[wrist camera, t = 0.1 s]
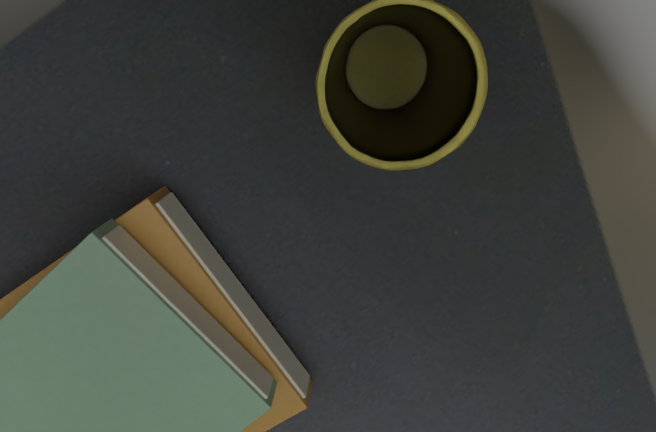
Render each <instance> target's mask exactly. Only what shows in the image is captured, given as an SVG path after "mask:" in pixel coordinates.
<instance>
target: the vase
mask: <svg viewBox="0 0 656 432" xmlns="http://www.w3.org/2000/svg"><path fill="white" fill-rule="evenodd" d="M315 87H316V94H317V102H318V108H319V115H320V118H321V120H322V122H323V124H324V125H325V127H326V129H327V130H328V131H329V133H330V134H331V135H332V137H333V138H334V139H335V141H336V142H337V143H338V145H339V146H340V147H341V148H342V149H343V150H344V151H345V152H346V153H347V154H348V155H350V156H351V157H353V158H354V159H356V160H358V161H360V162H362V163H364V164H366V165H369V166H371V167H374V168H378V169H382V170H390V171H396V170H409V169H416V168H422V167H425V166H429V165H432V164H433V163H435V162H437V161H438V160H440V159H442V158H443V157H445V156H446V155H448V154H449V153H451V152H452V151H454V150H455V149H457V148H458V147H460V146H461V145H462V144H463V142H464V141H465V140H466V139H467V138H468V137H469V135H470V134H471V132H472V131H473V129H474V128H475V126H476V124H477V121H478V119H479V117H480V114H481V112H482V109H483V106H484V103H485V100H486V95H487V89H488V73H487V64H486V58H485V54H484V50H483V47H482V45H481V42H480V41H479V39H478V37H477V36H476V34H475V33H474V32H473V30H472V29H471V28H470V27H469V25H468V24H467V23H466V22H465V20H464V19H463V18H462V17H461V16H460V15H459V14H458V13H456V12H455V11H453V10H452V9H450V8H448V7H446V6H444V5H442V4H440V3H438V2H436V1H434V0H373V1H371V2H369V3H367V4H365V5H364V6H362V7H360V8H358V9H357V10H355V11H354V12H352V13H351V14H349V15H348V16H346V17H345V18H344V19H343V20H342V21H340V23H339V24H338V25H337V27H336V28H335V30H334V31H333V33H332V35H331V36H330V38H329V39H328V41H327V42H326V44H325V46H324V48H323V53H322V58H321V61H320V65H319V68H318V71H317V74H316V80H315Z"/></svg>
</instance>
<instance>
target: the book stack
mask: <svg viewBox="0 0 656 432" xmlns="http://www.w3.org/2000/svg"><path fill="white" fill-rule="evenodd" d="M311 383H312V380H311V378H310V375H309V374H308V372H307V371H306V370H305V368H304V367H303V366H302V364H301V363H300V362H299V360H298V359H297V358H296V356H295V355H294V354H293V352H292V351H291V350H290V348H289V347H288V346H287V344H286V343H285V342H284V340H283V339H282V338H281V336H280V335H279V334H278V332H277V331H276V330H275V328H274V327H273V326H272V324H271V323H270V322H269V320H268V319H267V318H266V316H265V315H264V314H263V312H262V311H261V310H260V308H259V307H258V306H257V304H256V303H255V302H254V300H253V299H252V298H251V296H250V295H249V294H248V292H247V291H246V290H245V288H244V287H243V286H242V284H241V283H240V282H239V280H238V279H237V278H236V276H235V275H234V274H233V272H232V271H231V270H230V268H229V267H228V266H227V264H226V263H225V262H224V260H223V259H222V258H221V256H220V255H219V254H218V252H217V251H216V250H215V248H214V247H213V246H212V244H211V243H210V242H209V240H208V239H207V238H206V236H205V235H204V234H203V232H202V231H201V230H200V228H199V227H198V226H197V224H196V223H195V222H194V220H193V219H192V218H191V216H190V215H189V214H188V212H187V211H186V210H185V208H184V207H183V206H182V204H181V203H180V202H179V200H178V199H177V198H176V196H175V195H174V194H173V192H170V191H169V189H168V188H167V187H166V186H163V187H162V188H160V189H159V190H157V191H156V192H154V193H153V194H151V195H150V196H149V197H147V198H146V199H144V200H143V201H141V202H140V203H138V204H137V205H136V206H134V207H133V208H131V209H130V210H128V211H127V212H125V213H124V214H123V215H121V216H120V217H118V218H117V219H115V220H113V219H112V218H111V219H110V220H108V221H107V222H105V223H104V224H102V225H101V226H99V227H98V228H97V229H95V230H94V231H92V232H91V233H90V234H89V235H88V236H87V237H86V238H85V239H84V240H82V241H81V242H80V243H79V244H78V245H77V246H76V247H75V248H73V249H72V250H70V251H69V252H68V253H66V254H65V255H63V256H62V257H60V258H59V259H57V260H56V261H55V262H53V263H52V264H50V265H49V266H47V267H46V268H44V269H43V270H42V271H40V272H39V273H37V274H36V275H34V276H33V277H31V278H30V279H29V280H27V281H26V282H24V283H23V284H21V285H20V286H18V287H17V288H16V289H14V290H13V291H11V292H10V293H8V294H7V295H5V296H4V297H3V298H1V299H0V432H265V431H267V430H269V429H271V428H272V427H274V426H276V425H278V424H280V423H281V422H283V421H285V420H287V419H289V418H290V417H292V416H294V415H296V414H298V413H299V412H301V411H303V410H305V409H307V407H308V401H309V395H310V389H311Z"/></svg>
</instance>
